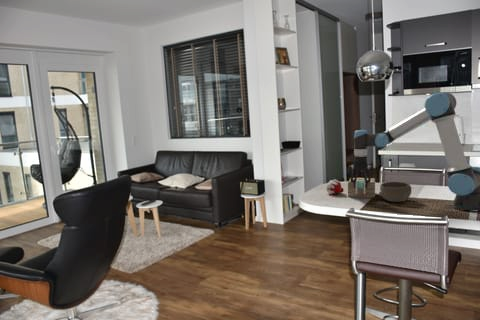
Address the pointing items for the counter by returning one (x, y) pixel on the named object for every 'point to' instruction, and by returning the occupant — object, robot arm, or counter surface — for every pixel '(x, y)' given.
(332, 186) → the red and white lump
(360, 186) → the flap
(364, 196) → the carton
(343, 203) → the counter surface
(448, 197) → the counter surface
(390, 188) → the bowl
